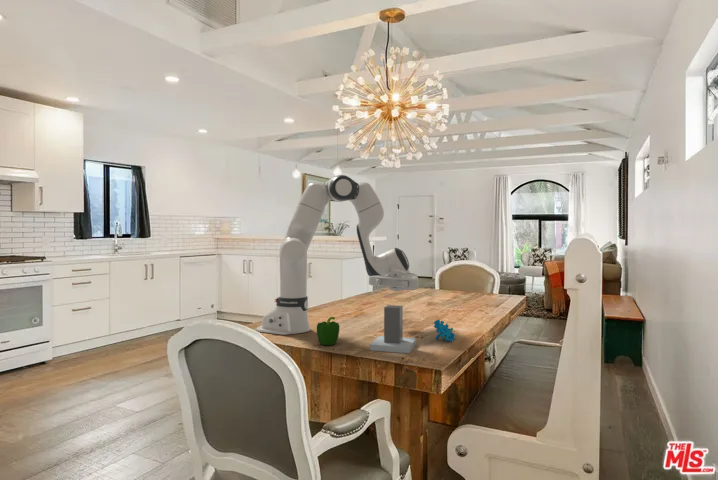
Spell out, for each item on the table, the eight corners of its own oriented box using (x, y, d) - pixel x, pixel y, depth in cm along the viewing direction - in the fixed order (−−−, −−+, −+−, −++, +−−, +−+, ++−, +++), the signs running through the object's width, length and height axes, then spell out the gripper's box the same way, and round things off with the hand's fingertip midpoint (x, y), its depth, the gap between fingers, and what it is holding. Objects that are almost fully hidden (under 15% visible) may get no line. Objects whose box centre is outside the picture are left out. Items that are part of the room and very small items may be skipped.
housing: (384, 342, 161) (384, 307, 160) (387, 338, 166) (387, 305, 166) (399, 343, 159) (399, 308, 159) (402, 340, 164) (402, 305, 164)
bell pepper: (315, 347, 162) (315, 319, 162) (317, 341, 170) (317, 315, 170) (339, 347, 162) (339, 319, 162) (339, 341, 170) (339, 315, 170)
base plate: (369, 350, 158) (369, 331, 158) (379, 341, 171) (379, 323, 171) (409, 353, 154) (409, 334, 154) (415, 343, 167) (415, 326, 167)
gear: (445, 340, 166) (431, 318, 171) (435, 349, 168) (421, 327, 174) (462, 339, 173) (447, 318, 179) (451, 348, 176) (438, 327, 182)
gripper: (373, 271, 193) (364, 273, 180) (421, 274, 187) (415, 277, 174) (372, 286, 193) (364, 289, 180) (420, 289, 187) (414, 293, 174)
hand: (389, 283), depth 177 cm, fingers open, 8 cm apart
